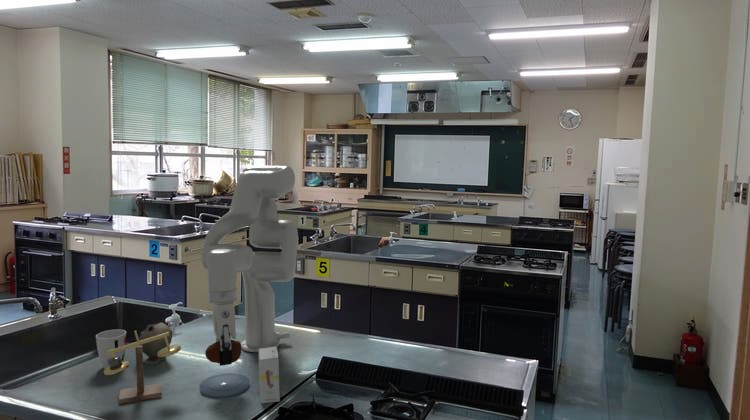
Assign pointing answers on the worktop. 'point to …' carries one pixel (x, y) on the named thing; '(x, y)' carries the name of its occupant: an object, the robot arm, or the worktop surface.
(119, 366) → the balance beam
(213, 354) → the potato
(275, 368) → the ink box
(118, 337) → the cup
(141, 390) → the balance stand
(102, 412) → the worktop surface
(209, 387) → the plate
